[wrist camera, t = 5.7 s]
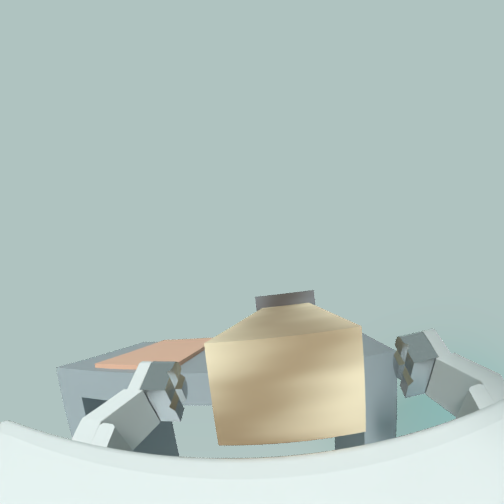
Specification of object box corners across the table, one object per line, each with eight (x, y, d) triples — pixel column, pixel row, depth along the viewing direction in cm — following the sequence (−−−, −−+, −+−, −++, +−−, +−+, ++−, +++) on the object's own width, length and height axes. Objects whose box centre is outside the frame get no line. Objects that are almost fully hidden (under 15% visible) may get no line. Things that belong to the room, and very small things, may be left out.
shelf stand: (350, 514, 27) (346, 322, 30) (370, 594, 12) (395, 345, 15) (181, 519, 29) (143, 339, 32) (141, 588, 14) (55, 363, 18)
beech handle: (315, 332, 29) (310, 290, 29) (383, 427, 7) (375, 284, 7) (262, 337, 29) (258, 296, 30) (201, 445, 7) (181, 306, 8)
